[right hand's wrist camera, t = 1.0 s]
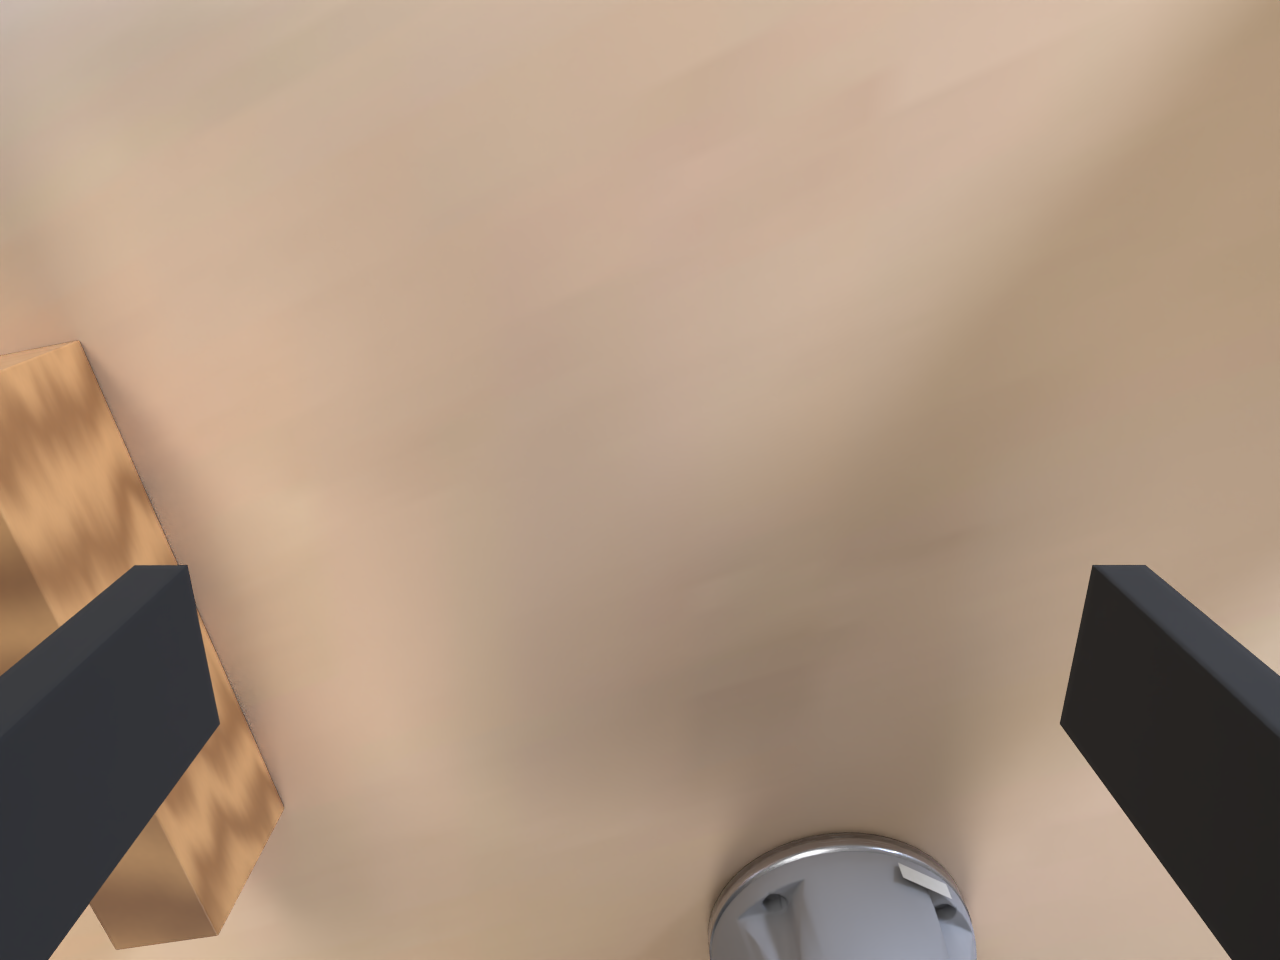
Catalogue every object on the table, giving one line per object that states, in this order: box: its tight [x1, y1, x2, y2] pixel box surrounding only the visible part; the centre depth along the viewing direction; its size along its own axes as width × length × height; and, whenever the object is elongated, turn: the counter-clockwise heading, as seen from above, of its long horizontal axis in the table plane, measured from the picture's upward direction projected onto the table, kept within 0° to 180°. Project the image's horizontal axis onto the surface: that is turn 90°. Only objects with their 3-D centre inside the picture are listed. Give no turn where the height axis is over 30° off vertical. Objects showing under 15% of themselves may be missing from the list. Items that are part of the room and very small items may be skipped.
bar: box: [0, 341, 284, 950], centre depth 40 cm, size 27×5×8 cm, turn 11°
